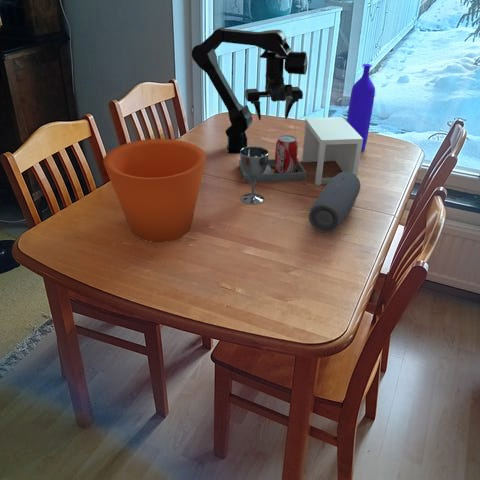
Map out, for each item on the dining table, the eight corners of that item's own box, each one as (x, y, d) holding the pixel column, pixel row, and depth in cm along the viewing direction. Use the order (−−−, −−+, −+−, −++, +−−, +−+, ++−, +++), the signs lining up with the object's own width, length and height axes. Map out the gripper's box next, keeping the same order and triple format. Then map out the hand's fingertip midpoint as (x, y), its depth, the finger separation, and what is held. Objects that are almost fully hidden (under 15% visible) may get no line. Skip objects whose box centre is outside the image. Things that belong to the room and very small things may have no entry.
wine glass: (269, 195, 145) (271, 148, 136) (261, 207, 138) (263, 158, 130) (244, 190, 147) (245, 144, 139) (235, 202, 140) (236, 154, 132)
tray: (244, 182, 152) (244, 175, 150) (239, 166, 161) (239, 160, 160) (305, 180, 154) (306, 172, 153) (296, 164, 164) (297, 157, 163)
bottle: (367, 146, 179) (382, 63, 163) (362, 153, 173) (377, 68, 157) (346, 142, 182) (358, 60, 166) (340, 149, 176) (352, 65, 160)
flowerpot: (187, 259, 116) (184, 186, 105) (95, 242, 121) (83, 171, 110) (219, 211, 136) (219, 145, 125) (139, 198, 141) (132, 134, 130)
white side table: (316, 185, 151) (321, 140, 143) (301, 159, 168) (305, 118, 159) (355, 183, 153) (363, 138, 144) (336, 158, 169) (342, 117, 161)
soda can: (296, 177, 155) (299, 142, 149) (274, 177, 155) (276, 142, 149) (294, 168, 161) (297, 134, 155) (273, 168, 161) (275, 134, 155)
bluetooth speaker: (328, 197, 145) (333, 166, 139) (359, 203, 141) (364, 172, 136) (304, 232, 127) (308, 199, 122) (338, 241, 124) (343, 207, 119)
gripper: (251, 79, 147) (250, 128, 156) (309, 77, 150) (305, 125, 159) (244, 71, 157) (244, 117, 165) (299, 69, 159) (296, 114, 168)
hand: (272, 119), depth 164 cm, fingers open, 9 cm apart
